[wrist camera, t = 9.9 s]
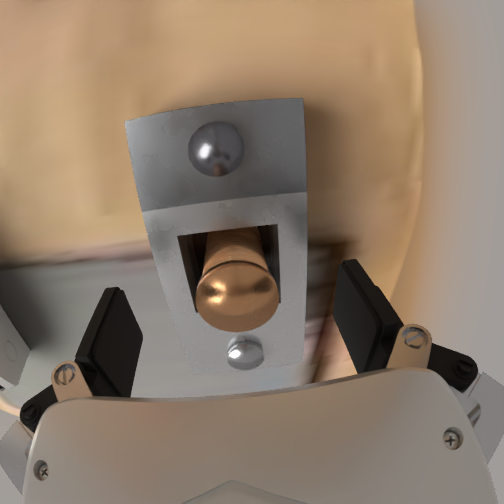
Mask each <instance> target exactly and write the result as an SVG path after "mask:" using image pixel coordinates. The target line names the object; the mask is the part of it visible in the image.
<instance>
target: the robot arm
mask: <svg viewBox="0 0 504 504" xmlns="http://www.w3.org/2000/svg"><path fill="white" fill-rule="evenodd" d="M333 316H334V319H335V322H336V324H337V326H338V328H339V331H340V333H341V335H342V338H343V340H344V342H345V345H346V347H347V349H348V352H349V354H350V356H351V359H352V361H353V364H354V366H355V368H356V371H357V373H358V374H356V375H352V376H347V377H343V378H338V379H333V380H328V381H323V382H318V383H313V384H307V385H302V386H296V387H290V388H283V389H276V390H269V391H261V392H253V393H244V394H234V395H222V396H207V397H185V398H131V397H130V396H131V391H132V386H133V381H134V376H135V371H136V367H137V362H138V358H139V354H140V349H141V345H142V341H143V335H142V332H141V330H140V327H139V325H138V323H137V321H136V319H135V316H134V314H133V312H132V310H131V307H130V305H129V303H128V300H127V298H126V296H125V293H124V291H123V290H120V288H119V287H112V288H106V289H105V291H104V293H103V295H102V297H101V299H100V301H99V303H98V305H97V307H96V309H95V311H94V314H93V316H92V318H91V320H90V322H89V325H88V327H87V329H86V331H85V334H84V336H83V338H82V341H81V343H80V346H79V348H78V351H77V353H76V356H75V357H76V359H75V361H74V362H73V361H64V362H62V363H60V364H59V365H57V366H56V368H55V369H54V370H53V372H52V375H51V382H52V384H51V385H50V386H48V387H47V388H46V389H44V390H43V391H41V392H40V393H38V394H37V395H35V396H34V397H33V398H31V399H30V400H28V401H27V402H26V403H25V404H24V405H23V406H22V408H21V411H20V422H19V421H18V420H16V421H15V423H14V424H13V425H12V426H11V428H10V429H9V430H8V431H7V433H6V434H5V435H4V436H3V437H2V439H1V440H0V465H1V466H2V468H3V469H4V471H5V472H6V474H7V475H8V477H9V478H10V479H11V481H12V482H13V484H14V485H15V486H16V488H17V489H18V490H19V492H20V493H21V494H22V504H498V501H497V496H496V492H495V488H494V485H493V482H492V478H491V475H490V472H489V469H488V465H487V464H488V463H489V461H490V459H491V457H492V456H493V454H494V452H495V450H496V448H497V446H498V444H499V442H500V440H501V438H502V436H503V434H504V386H503V385H501V384H500V383H498V382H497V381H496V380H494V379H492V378H491V377H490V376H489V375H487V374H486V373H484V372H482V374H480V373H479V372H478V368H477V364H476V363H475V361H474V360H473V359H472V358H471V357H469V356H466V355H464V354H461V353H459V352H456V351H453V350H450V349H447V348H444V347H442V346H439V345H436V344H433V343H432V337H431V334H430V333H429V331H428V330H427V329H425V328H424V327H422V326H420V325H417V324H408V325H405V326H404V324H403V323H402V321H401V320H400V318H399V317H398V315H397V313H396V312H395V310H394V309H393V308H392V306H391V305H390V303H389V301H388V300H387V299H386V297H385V296H384V294H383V293H382V291H381V290H380V288H379V287H378V286H375V285H374V283H373V282H372V280H371V279H370V278H369V276H368V275H367V273H366V272H365V271H364V269H363V268H362V266H361V265H360V264H359V262H358V261H357V260H356V259H351V260H344V261H343V262H342V264H340V265H339V266H338V274H337V283H336V292H335V300H334V308H333Z"/></svg>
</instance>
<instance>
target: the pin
mask: <svg viewBox="0 0 504 504" xmlns="http://www.w3.org/2000/svg"><path fill="white" fill-rule="evenodd" d="M278 304H279V293H278V289H277V285H276V282H275V280H274V278H273V276H272V275H271V274H270V273H269V271H268V267H267V263H266V259H265V255H264V251H263V247H262V244H261V240H260V236H259V232H258V229H257V227H256V226H253V227H244V228H236V229H227V230H219V231H211V232H208V235H207V242H206V250H205V259H204V268H203V276H202V277H201V279H200V281H199V283H198V286H197V292H196V307H197V310H198V312H199V314H200V316H201V317H202V318H203V319H204V320H205V321H206V322H207V323H208V324H209V325H211V326H213V327H215V328H217V329H219V330H222V331H227V332H245V331H250V330H253V329H256V328H258V327H260V326H262V325H263V324H265V323H266V322H268V321H269V320H270V319H271V318H272V316H273V315H274V314H275V312H276V310H277V308H278Z"/></svg>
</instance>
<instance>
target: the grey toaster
mask: <svg viewBox="0 0 504 504" xmlns="http://www.w3.org/2000/svg"><path fill="white" fill-rule="evenodd" d="M29 352H30V349H29V347H28V346H27V345H26V343H25V342H24V340H23V339H22V338H21V336H20V335H19V333H18V332H17V330H16V329H15V327H14V326H13V324H12V323H11V321H10V319H9V318H8V316H7V315H6V313H5V311H4V310H3V308H2V306H1V305H0V391H3V390H4V389H5V388H6V389H12V388H13V387H15V386H16V385H18V383H19V380H20V377H21V374H22V371H23V368H24V365H25V363H26V360H27V357H28V355H29Z"/></svg>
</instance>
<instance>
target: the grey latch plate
mask: <svg viewBox="0 0 504 504" xmlns="http://www.w3.org/2000/svg"><path fill="white" fill-rule="evenodd" d="M125 127H126V134H127V140H128V146H129V152H130V157H131V163H132V168H133V173H134V178H135V183H136V188H137V192H138V197H139V201H140V206H141V210H142V214H143V218H144V223H145V227H146V230H147V234H148V238H149V242H150V246H151V249H152V253H153V257H154V260H155V264H156V267H157V271H158V274H159V277H160V281H161V284H162V287H163V290H164V293H165V297H166V300H167V303H168V306H169V309H170V312H171V315H172V318H173V321H174V324H175V326H176V329H177V332H178V335H179V338H180V340H181V343H182V346H183V348H184V351H185V354H186V356H187V359H188V361H189V364H190V367H191V369H192V372H193V374H194V375H195V374H211V373H223V372H234V371H244V370H253V369H261V368H269V367H276V366H283V365H289V364H295V363H301V362H303V351H304V334H305V314H306V287H307V169H306V142H305V123H304V106H303V98H286V99H264V100H250V101H238V102H228V103H220V104H212V105H204V106H198V107H191V108H185V109H179V110H174V111H168V112H163V113H158V114H154V115H149V116H145V117H140V118H136V119H132V120H128V121H125ZM262 225H269V240H270V256H271V267H268V271H269V273H270V274H271V275H272V276H273V278H274V280H275V282H276V285H277V289H278V293H279V304H278V308H277V310H276V312H275V314H274V315H273V316H272V318H271V319H270V320H269V321H268V322H266V323H265V324H263V325H262V326H260V327H258V328H256V329H253V330H250V331H245V332H227V331H222V330H219V329H217V328H215V327H213V326H211V325H209V324H208V323H207V322H206V321H205V320H204V319H203V318H202V317H201V316H200V314H199V312H198V310H197V307H196V292H197V286H198V283H199V281H200V279H201V277H202V276H203V275H200V273H199V268H198V263H197V259H196V254H195V249H194V244H193V239H192V234H195V233H203V232H211V231H219V230H227V229H236V228H244V227H253V226H262Z"/></svg>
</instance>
